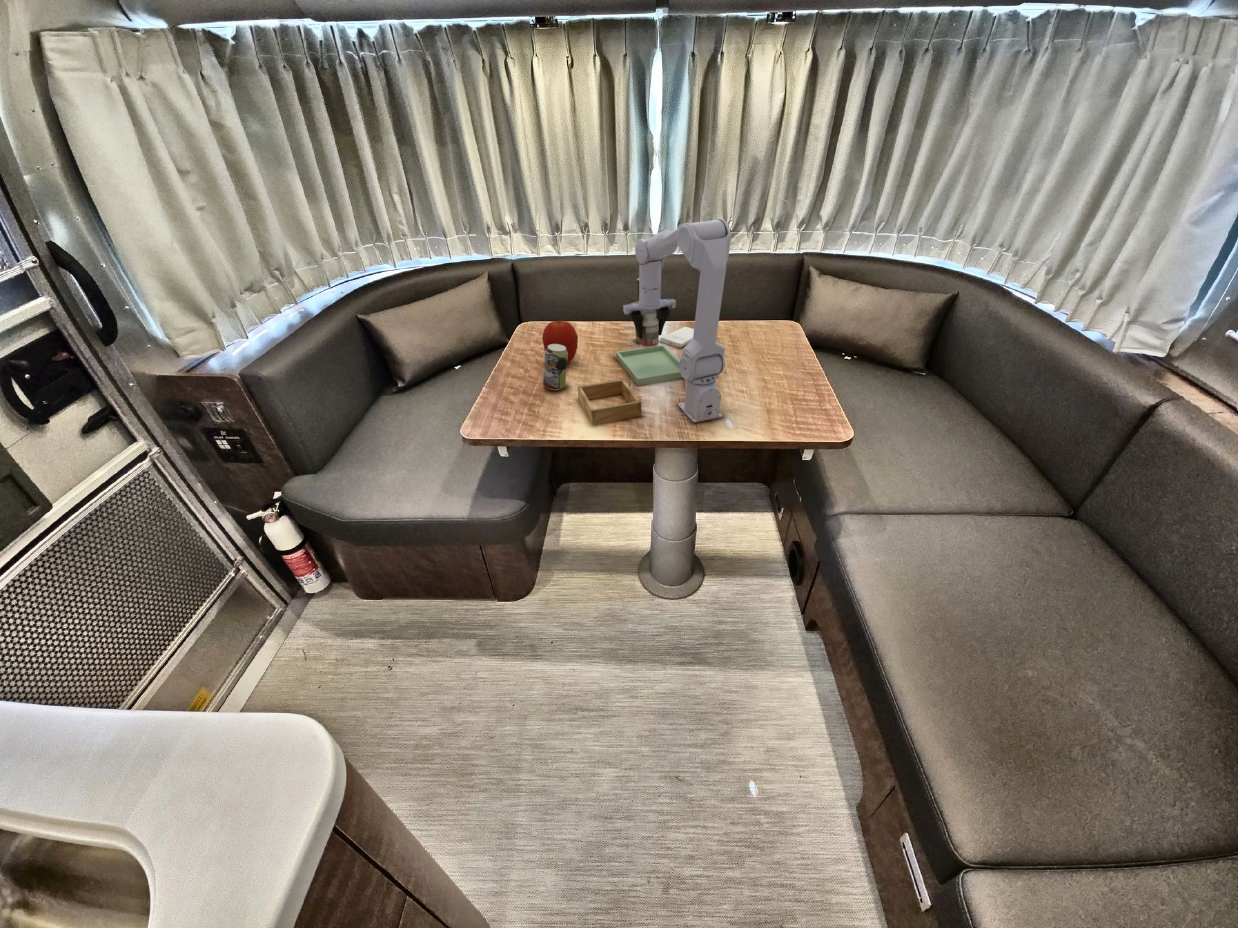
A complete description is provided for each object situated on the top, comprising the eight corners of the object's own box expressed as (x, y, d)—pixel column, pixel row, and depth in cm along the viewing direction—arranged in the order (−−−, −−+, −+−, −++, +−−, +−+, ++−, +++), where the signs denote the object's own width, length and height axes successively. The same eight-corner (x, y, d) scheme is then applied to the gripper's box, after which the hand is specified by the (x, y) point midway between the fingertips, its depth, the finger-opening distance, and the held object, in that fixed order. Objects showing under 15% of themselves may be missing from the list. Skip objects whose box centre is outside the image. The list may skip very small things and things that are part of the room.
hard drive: (704, 337, 174) (680, 348, 167) (684, 330, 179) (660, 341, 171) (704, 332, 173) (680, 343, 166) (684, 326, 178) (660, 336, 170)
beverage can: (541, 384, 148) (536, 344, 141) (566, 380, 150) (563, 340, 143) (547, 394, 143) (542, 353, 136) (573, 389, 145) (570, 348, 138)
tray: (689, 376, 150) (689, 370, 149) (637, 385, 147) (637, 379, 145) (663, 350, 166) (663, 344, 164) (615, 358, 162) (615, 351, 161)
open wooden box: (641, 416, 133) (641, 402, 131) (592, 425, 130) (591, 410, 128) (623, 392, 143) (623, 378, 141) (578, 400, 140) (577, 386, 138)
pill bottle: (637, 342, 152) (637, 309, 147) (655, 340, 153) (655, 307, 148) (642, 350, 148) (642, 315, 142) (660, 347, 149) (661, 313, 143)
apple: (546, 372, 155) (541, 326, 147) (543, 358, 163) (538, 313, 155) (581, 368, 156) (578, 322, 148) (577, 354, 164) (574, 310, 156)
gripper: (669, 279, 146) (667, 327, 154) (619, 285, 142) (620, 334, 150) (679, 286, 140) (677, 335, 148) (628, 293, 137) (628, 343, 145)
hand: (649, 335), depth 149 cm, fingers closed on pill bottle, 5 cm apart
